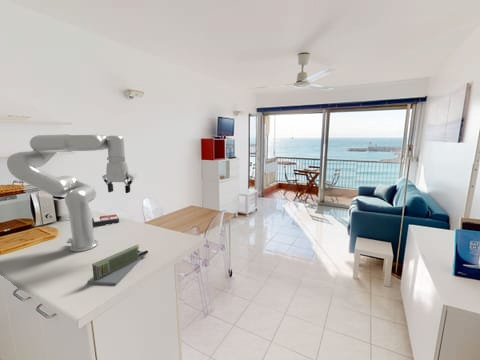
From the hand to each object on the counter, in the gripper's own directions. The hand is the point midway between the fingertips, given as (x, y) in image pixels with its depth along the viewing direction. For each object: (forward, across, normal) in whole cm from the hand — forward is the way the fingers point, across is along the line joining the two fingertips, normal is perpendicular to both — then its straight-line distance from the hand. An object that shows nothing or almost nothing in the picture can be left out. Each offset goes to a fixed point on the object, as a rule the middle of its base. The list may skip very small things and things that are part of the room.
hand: (119, 192), depth 124 cm
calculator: (+30, -32, +29) cm, 53 cm away
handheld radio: (+28, +15, -22) cm, 39 cm away
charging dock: (+29, +13, -22) cm, 39 cm away
